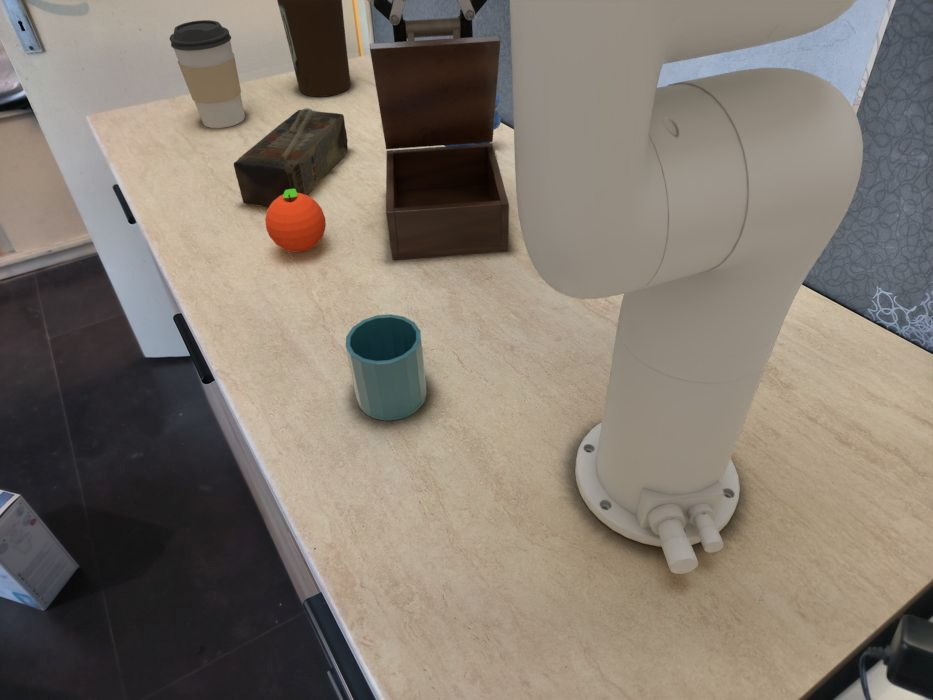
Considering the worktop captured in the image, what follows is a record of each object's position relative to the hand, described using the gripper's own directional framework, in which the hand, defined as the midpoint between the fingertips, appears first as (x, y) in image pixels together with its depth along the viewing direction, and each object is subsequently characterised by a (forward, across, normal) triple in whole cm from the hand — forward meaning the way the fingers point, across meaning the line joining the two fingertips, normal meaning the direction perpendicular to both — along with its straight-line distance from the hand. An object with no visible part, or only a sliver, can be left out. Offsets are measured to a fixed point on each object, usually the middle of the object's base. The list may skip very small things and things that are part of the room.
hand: (434, 55), depth 75 cm
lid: (+4, 0, -2) cm, 5 cm away
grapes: (+18, +5, +12) cm, 23 cm away
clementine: (+19, -18, -8) cm, 27 cm away
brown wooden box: (+18, 0, -6) cm, 19 cm away
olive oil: (+18, -19, +44) cm, 52 cm away
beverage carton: (+18, -20, +10) cm, 29 cm away
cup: (+19, -7, -36) cm, 41 cm away
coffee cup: (+18, -35, +32) cm, 51 cm away
